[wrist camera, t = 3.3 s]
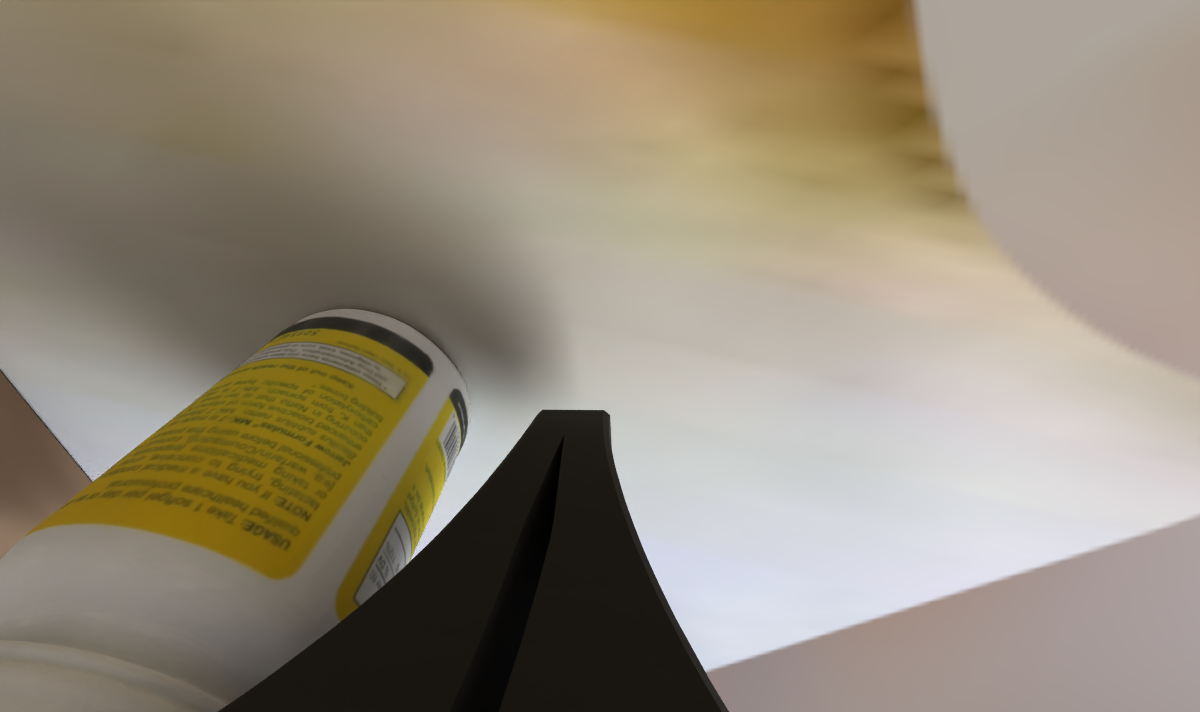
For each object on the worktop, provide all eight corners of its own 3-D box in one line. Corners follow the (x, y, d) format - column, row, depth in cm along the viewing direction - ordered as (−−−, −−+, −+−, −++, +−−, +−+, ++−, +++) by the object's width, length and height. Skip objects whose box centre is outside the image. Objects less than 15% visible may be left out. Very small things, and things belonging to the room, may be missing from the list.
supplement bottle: (238, 344, 12) (-403, 807, 5) (396, 271, 10) (-160, 763, 3) (366, 481, 14) (68, 941, 7) (511, 435, 12) (331, 950, 5)
